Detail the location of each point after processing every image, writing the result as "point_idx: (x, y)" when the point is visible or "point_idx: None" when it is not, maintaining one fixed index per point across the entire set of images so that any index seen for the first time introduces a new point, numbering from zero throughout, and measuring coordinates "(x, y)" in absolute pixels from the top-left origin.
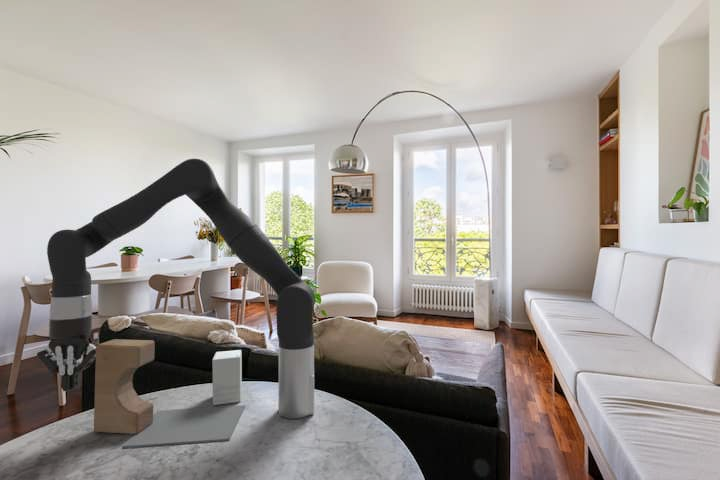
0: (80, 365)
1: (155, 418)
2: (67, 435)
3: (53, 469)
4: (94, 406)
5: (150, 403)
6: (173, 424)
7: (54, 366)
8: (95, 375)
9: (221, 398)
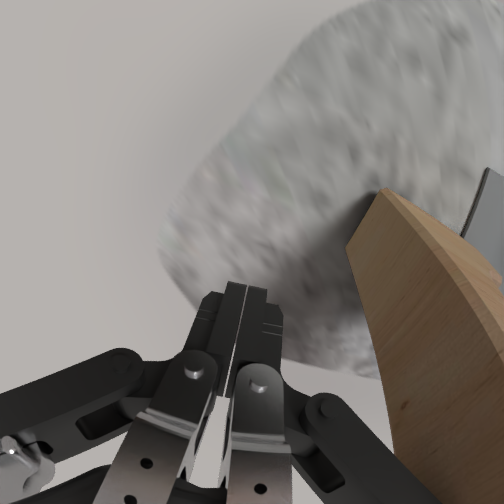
0: (309, 469)
1: (482, 224)
2: (267, 222)
3: (302, 355)
4: (362, 305)
5: (498, 286)
6: (501, 274)
7: (127, 430)
8: (389, 418)
9: None
